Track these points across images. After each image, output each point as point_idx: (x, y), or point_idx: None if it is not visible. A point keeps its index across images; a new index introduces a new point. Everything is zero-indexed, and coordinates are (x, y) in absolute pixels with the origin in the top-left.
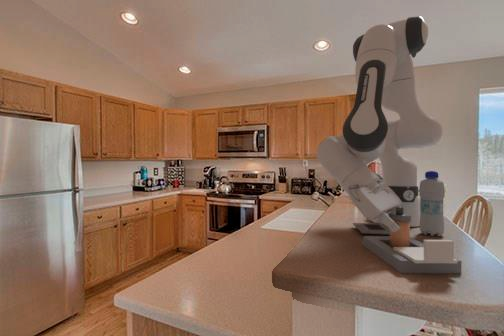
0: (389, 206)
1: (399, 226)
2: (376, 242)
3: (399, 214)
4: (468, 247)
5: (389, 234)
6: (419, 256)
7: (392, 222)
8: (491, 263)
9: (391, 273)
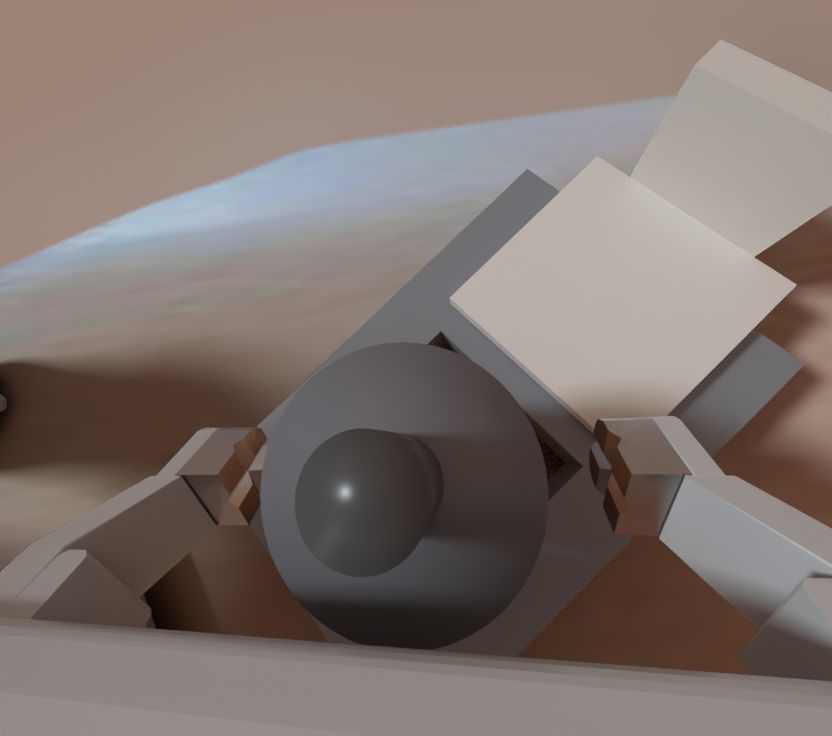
0: (581, 715)
1: (639, 420)
2: (520, 606)
3: (442, 474)
4: (130, 253)
5: (144, 601)
6: (699, 288)
7: (739, 487)
8: (307, 165)
9: (793, 412)
